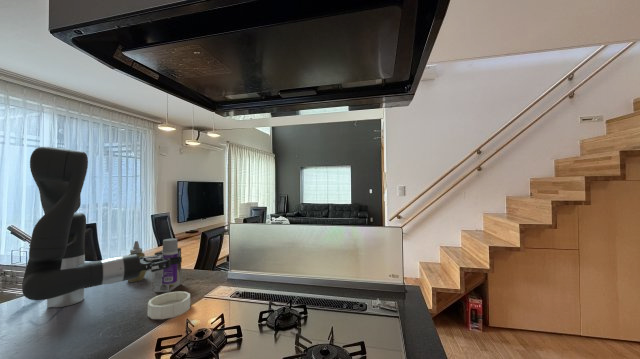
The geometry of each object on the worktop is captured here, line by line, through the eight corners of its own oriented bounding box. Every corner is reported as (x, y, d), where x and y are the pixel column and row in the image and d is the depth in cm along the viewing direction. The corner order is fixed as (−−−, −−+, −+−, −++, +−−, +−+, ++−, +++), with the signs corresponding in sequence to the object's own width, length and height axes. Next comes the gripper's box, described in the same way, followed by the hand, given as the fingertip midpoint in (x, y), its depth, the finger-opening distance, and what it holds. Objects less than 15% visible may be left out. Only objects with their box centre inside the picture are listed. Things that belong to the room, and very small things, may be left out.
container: (180, 281, 93) (181, 238, 94) (168, 286, 89) (169, 241, 89) (170, 280, 95) (171, 238, 95) (158, 284, 90) (159, 240, 91)
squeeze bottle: (138, 283, 119) (138, 242, 119) (120, 283, 119) (121, 243, 119) (150, 277, 127) (150, 239, 127) (133, 277, 127) (134, 239, 127)
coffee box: (167, 284, 117) (167, 247, 118) (181, 284, 117) (181, 247, 117) (153, 292, 108) (154, 252, 108) (169, 292, 108) (169, 252, 108)
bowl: (144, 322, 83) (144, 309, 84) (151, 306, 95) (151, 295, 95) (189, 314, 88) (189, 302, 89) (190, 299, 100) (190, 289, 100)
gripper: (126, 260, 77) (186, 250, 90) (114, 253, 86) (170, 244, 99) (125, 286, 77) (186, 272, 89) (113, 276, 86) (170, 265, 99)
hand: (178, 258), depth 94 cm, fingers closed on container, 4 cm apart
